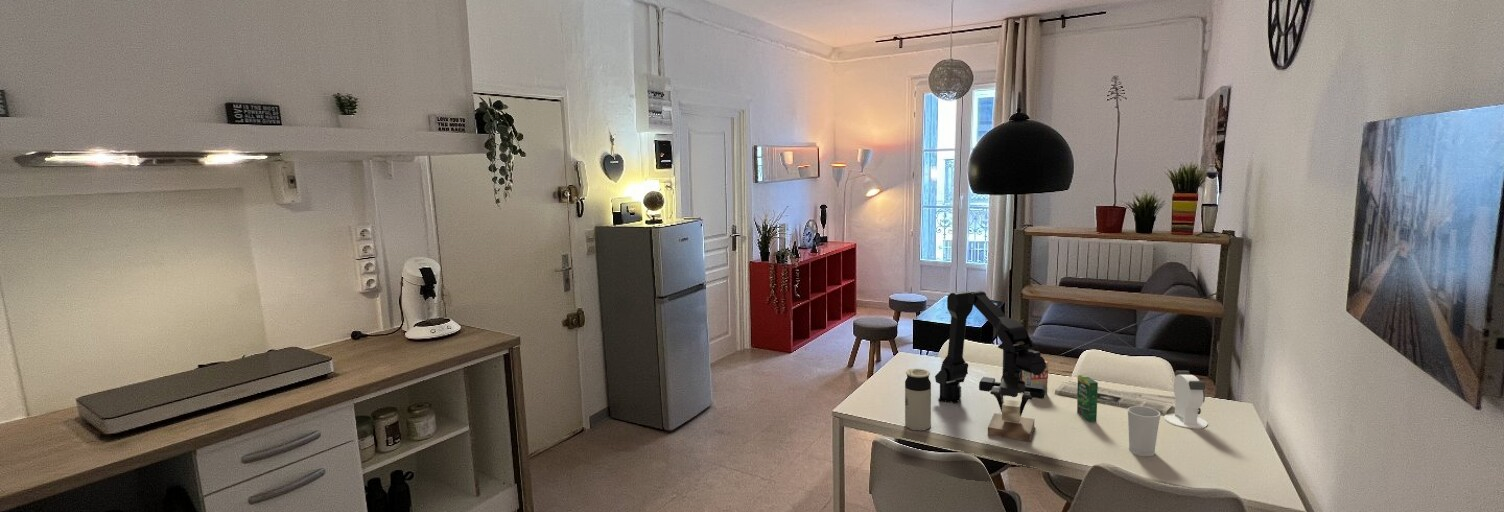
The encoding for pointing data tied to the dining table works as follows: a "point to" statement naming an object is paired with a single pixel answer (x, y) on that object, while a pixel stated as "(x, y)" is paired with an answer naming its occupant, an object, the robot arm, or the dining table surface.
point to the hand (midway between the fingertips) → (1011, 413)
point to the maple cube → (1011, 411)
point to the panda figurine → (1187, 401)
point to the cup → (1143, 430)
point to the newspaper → (1121, 397)
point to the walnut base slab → (1011, 428)
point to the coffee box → (1087, 398)
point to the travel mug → (918, 399)
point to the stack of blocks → (1036, 377)
